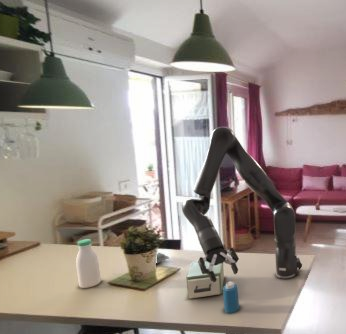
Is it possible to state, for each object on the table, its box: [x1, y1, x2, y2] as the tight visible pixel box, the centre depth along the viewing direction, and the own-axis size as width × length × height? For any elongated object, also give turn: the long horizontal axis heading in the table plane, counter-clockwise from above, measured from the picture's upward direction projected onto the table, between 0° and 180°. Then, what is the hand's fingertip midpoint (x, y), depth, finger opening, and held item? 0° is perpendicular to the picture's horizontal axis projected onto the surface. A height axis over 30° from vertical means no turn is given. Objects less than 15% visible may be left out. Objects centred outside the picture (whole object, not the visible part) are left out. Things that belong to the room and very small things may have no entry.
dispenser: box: [185, 260, 225, 300], centre depth 142 cm, size 15×13×9 cm
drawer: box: [186, 275, 221, 300], centre depth 138 cm, size 18×12×7 cm, turn 16°
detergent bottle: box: [222, 281, 240, 314], centre depth 126 cm, size 5×5×10 cm
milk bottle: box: [75, 238, 102, 289], centre depth 145 cm, size 8×8×20 cm
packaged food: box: [156, 251, 170, 265], centre depth 167 cm, size 9×12×5 cm
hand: (226, 277), depth 127 cm, fingers open, 8 cm apart
